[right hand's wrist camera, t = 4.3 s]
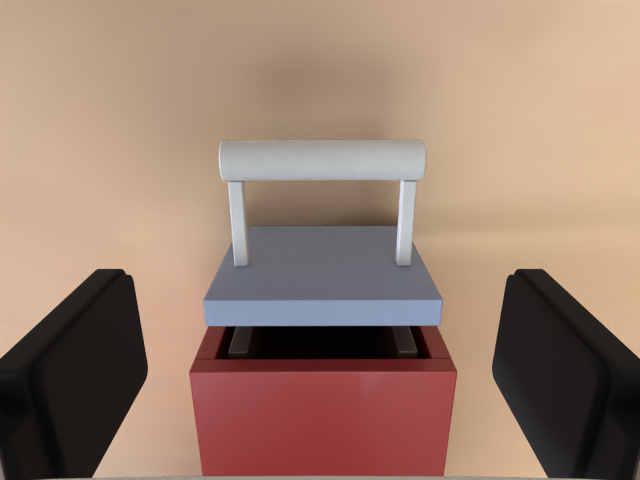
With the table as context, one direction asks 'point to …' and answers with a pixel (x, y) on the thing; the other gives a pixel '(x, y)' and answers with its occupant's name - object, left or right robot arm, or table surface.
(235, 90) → the table surface
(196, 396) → the red box
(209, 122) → the table surface
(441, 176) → the table surface
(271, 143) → the drawer
